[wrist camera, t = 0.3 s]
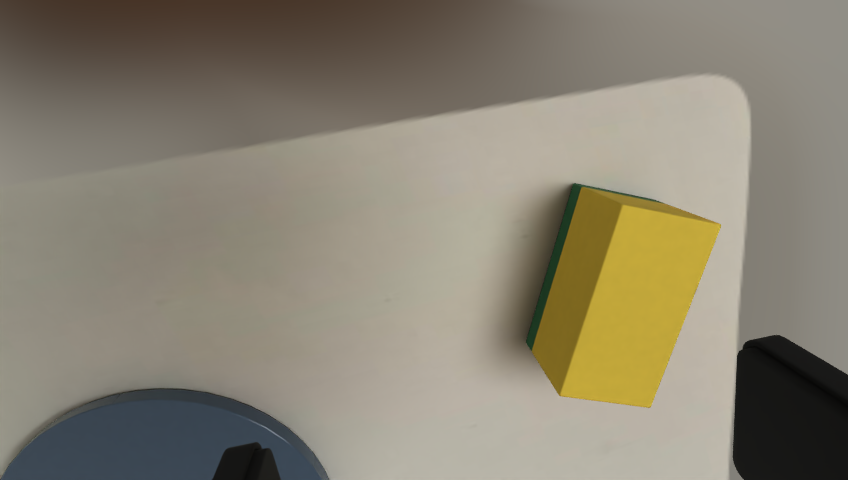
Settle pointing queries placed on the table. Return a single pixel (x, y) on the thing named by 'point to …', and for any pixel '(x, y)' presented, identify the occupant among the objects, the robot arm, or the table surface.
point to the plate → (157, 440)
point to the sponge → (617, 294)
